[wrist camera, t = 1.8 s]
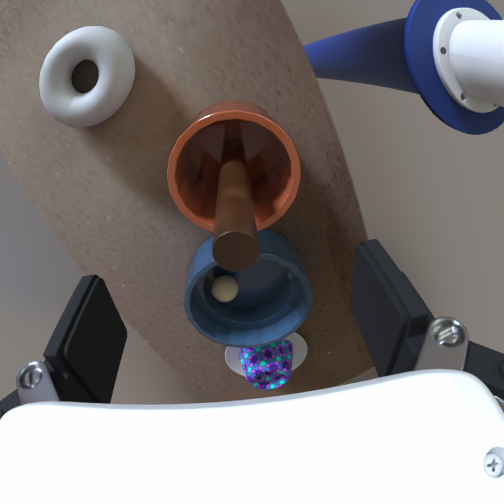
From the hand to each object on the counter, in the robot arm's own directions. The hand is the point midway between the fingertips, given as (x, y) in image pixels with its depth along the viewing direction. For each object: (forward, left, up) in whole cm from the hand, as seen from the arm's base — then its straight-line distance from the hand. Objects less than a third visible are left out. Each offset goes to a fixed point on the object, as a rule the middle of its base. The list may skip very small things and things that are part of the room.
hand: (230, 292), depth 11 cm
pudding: (-1, +29, -21) cm, 36 cm away
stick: (0, 0, -20) cm, 20 cm away
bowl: (0, +15, -21) cm, 26 cm away
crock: (0, 0, -21) cm, 21 cm away
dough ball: (+3, +15, -19) cm, 24 cm away
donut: (+12, -10, -21) cm, 26 cm away
